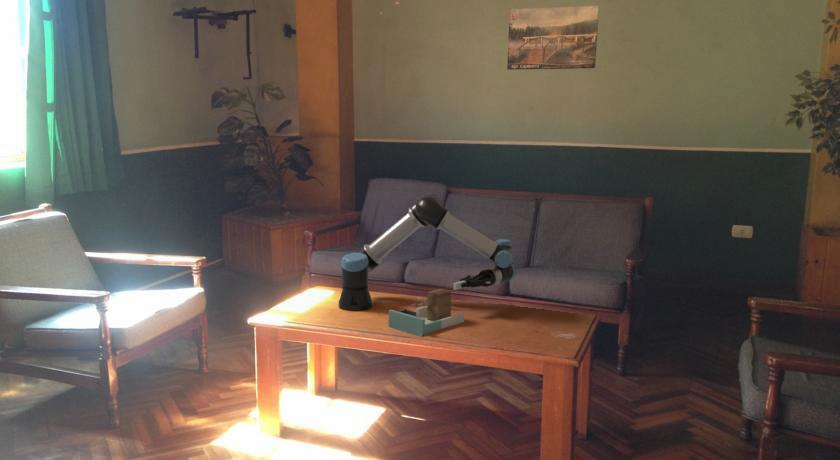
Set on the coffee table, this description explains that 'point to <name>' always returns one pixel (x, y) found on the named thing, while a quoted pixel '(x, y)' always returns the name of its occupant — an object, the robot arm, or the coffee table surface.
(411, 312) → the tray
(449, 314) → the walnut block
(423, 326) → the teal and white tray
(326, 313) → the coffee table surface
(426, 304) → the decorative key
